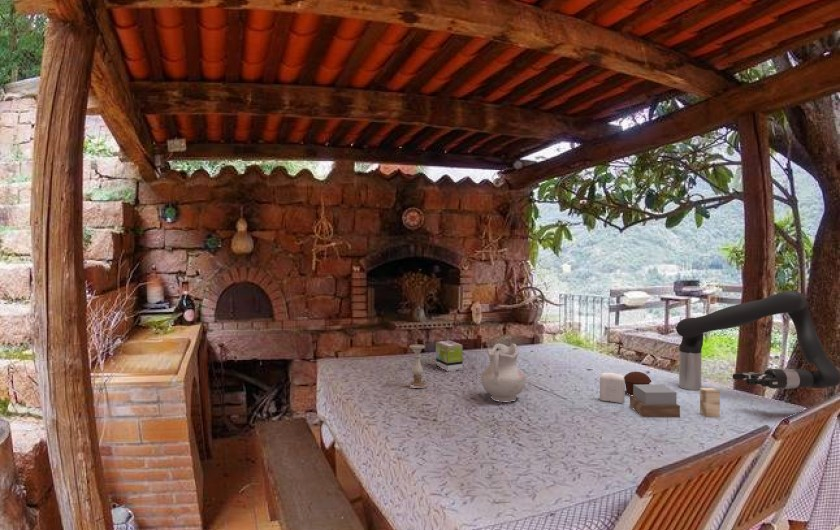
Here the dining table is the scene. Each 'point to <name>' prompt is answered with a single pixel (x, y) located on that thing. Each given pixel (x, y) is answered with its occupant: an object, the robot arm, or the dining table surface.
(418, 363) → the candle holder
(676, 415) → the walnut base block
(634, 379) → the muffin
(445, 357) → the tea box
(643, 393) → the slate top block
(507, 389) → the ceramic pitcher
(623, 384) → the photo printer
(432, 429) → the dining table surface
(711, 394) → the birch pillar block
